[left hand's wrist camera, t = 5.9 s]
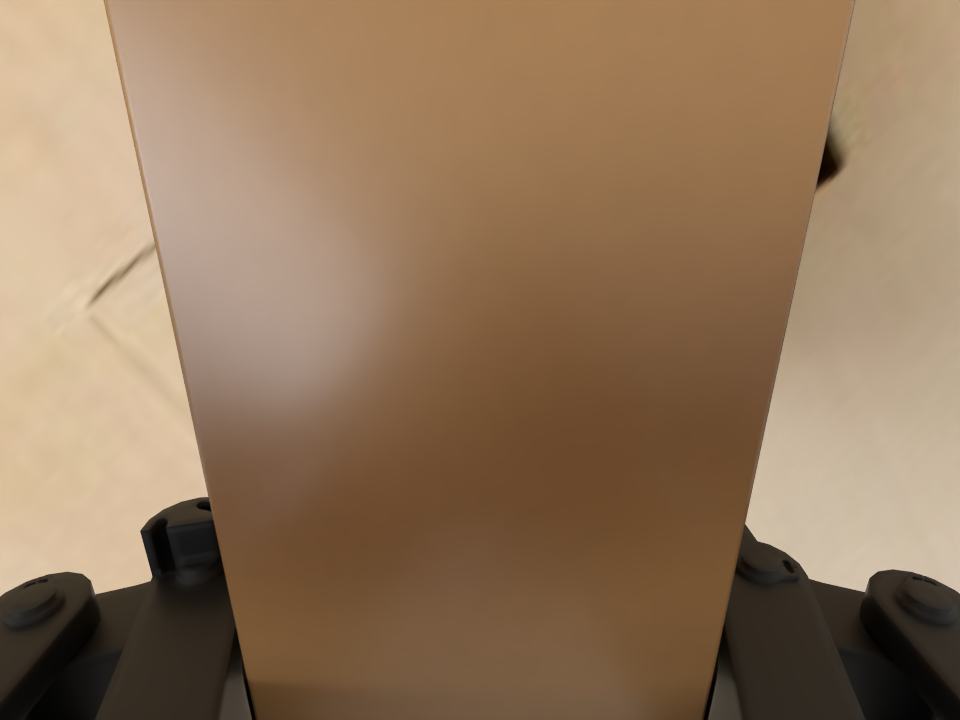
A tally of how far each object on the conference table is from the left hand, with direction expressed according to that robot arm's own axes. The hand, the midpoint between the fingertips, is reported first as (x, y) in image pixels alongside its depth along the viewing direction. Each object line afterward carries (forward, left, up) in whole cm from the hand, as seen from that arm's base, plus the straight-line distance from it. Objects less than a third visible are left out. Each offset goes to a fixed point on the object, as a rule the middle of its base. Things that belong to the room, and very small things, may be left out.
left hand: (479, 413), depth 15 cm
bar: (+11, 0, -1) cm, 11 cm away
